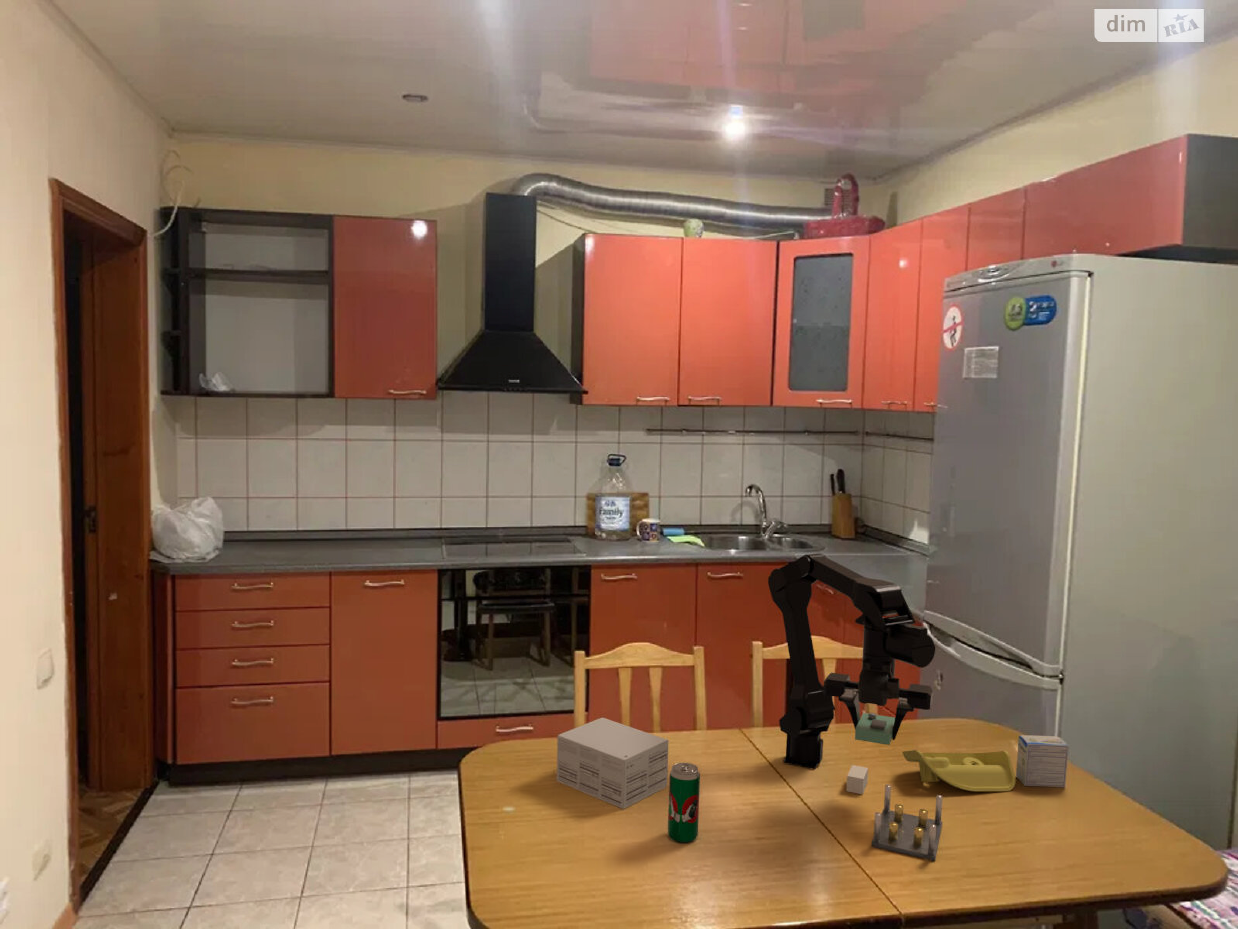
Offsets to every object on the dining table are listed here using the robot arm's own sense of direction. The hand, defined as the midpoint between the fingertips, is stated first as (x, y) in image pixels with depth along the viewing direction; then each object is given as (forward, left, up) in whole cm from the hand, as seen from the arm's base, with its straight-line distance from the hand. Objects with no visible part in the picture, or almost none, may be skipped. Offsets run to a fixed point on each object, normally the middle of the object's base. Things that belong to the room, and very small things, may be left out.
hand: (875, 736), depth 165 cm
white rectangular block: (-3, +4, -12) cm, 13 cm away
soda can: (-26, -29, -12) cm, 41 cm away
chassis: (+8, -11, -12) cm, 18 cm away
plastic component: (+13, +17, -13) cm, 25 cm away
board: (0, 0, 0) cm, 0 cm away
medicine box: (+28, +23, -12) cm, 39 cm away
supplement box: (-45, -16, -13) cm, 50 cm away
